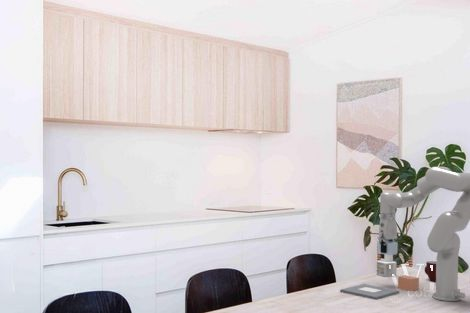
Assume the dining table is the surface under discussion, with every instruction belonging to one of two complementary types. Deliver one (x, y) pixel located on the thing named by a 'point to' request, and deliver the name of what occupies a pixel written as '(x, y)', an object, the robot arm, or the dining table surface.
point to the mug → (428, 270)
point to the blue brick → (388, 248)
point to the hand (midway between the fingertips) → (387, 251)
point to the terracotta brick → (408, 283)
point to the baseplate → (369, 291)
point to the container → (386, 266)
